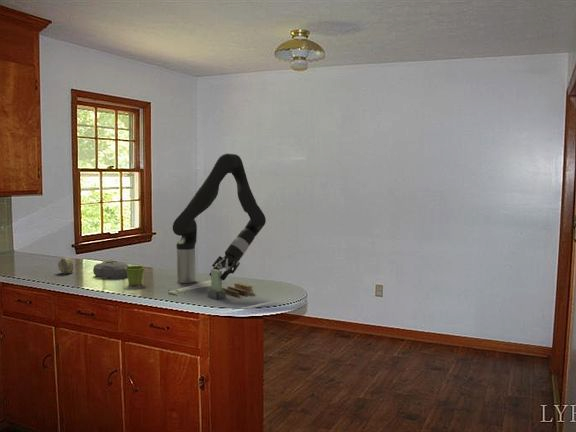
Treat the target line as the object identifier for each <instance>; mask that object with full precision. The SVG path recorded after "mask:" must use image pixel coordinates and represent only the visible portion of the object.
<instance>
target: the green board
mask: <svg viewBox="0 0 576 432" xmlns="http://www.w3.org/2000/svg"><path fill="white" fill-rule="evenodd" d="M210 273H211V276H210V278H211V279H210V280H211V286H210V287H211V288H210V289H211V290H212V291H215V292H222V288H223V284H222V281H223V280H222V279H221V278H220V277H221V275H222V274H223V271H222V270H221V269H220V270H216V269H210Z"/></svg>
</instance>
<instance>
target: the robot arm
mask: <svg viewBox="0 0 576 432" xmlns="http://www.w3.org/2000/svg"><path fill="white" fill-rule="evenodd" d="M228 174H232V176H233V178H234V181H235V182H236V190H237V198H238V201H239V204H240V206H241V208H242V209H243V211H244V212H245V214H246V213H247V215H248V218H249V220H248V222H247V224H246V225H245V226H244V228H243V229H242V230H241V231H240V232H239V233H238V235H237V236H236V237H235V238H234V239H233V241H232V242H231V243H230V244H229V246H228V247H227V248H226V250H225V252H224V256H223V257H222V256H221V255H219V256H218V257H217V259H215V261H214V262H213V263H212V265H211V267H212V268H213V269H216V270H220V271H221V270H223V269H225V271H223V272H222V275H221V277H220V278H221V279H222V281H225V280H226V279H227V277H228V276H229V275H231V274H232V275H233V274H234V273H235V272H236V271H237V269H238V267H239V266H240V265H241V263H240V261H241V259H242V257H243V256H244V255H245V253H246V252H247V251H248V249H249V247H250V246H251V245H252V243H253V241H254V239H255V237H257V235H258V234H259V233H260V232H261V230H262V229H263V227H264V226H265V225H266V222H267V221H266V220H267V219H266V216H265V214H264V212H263V211H262V209H261V207H260V206H259V205H258V203H257V201H256V198H255V196H254V194H253V192H252V189H251V187H250V183H249V181H248V177H247V174H246V170H245V166H244V163H243V160H242V158H241V156H239V155H238V154H235V153H223V154H222V155H220V156H219V157H218V159H217V160H216V162H215V163H214V165H213V167H212V170H211V171H210V173H209V174H208V176H207V177H206V179H205V180H204V181H203V183H202V184H201V186H200V187H199V188H198V190H197V191H196V192H195V194H194V196H192V198H191V200H190V201H189V202H188V204H187V205H186V207H185V208H184V209H183V210H182V212H181V213H180V214H179V215H178V216H177V217H176V219H175V220H174V221H173V223H172V231H173V233H174V234H175V235H177V236H179V237H181V238H180V240H179V241H177V242H176V281H177V283H179V284H190V283H195V282H196V280H197V279H196V244H197V234H198V232H197V231H198V228H197V227H198V225H197V222H196V218H197V217H198V216H199V215H201V214H203V212H206V210H208V208H209V207H211V205H212V204H213V203H214V202H215V200H216V199H217V197H218V195H219V191H220V185H221V182H222V181H223V179H225V177H226V176H227V175H228ZM209 276H210V277H211V272H210V273H209Z"/></svg>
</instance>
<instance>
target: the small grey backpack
mask: <svg viewBox="0 0 576 432" xmlns="http://www.w3.org/2000/svg"><path fill="white" fill-rule="evenodd" d="M126 267H129V265H128V263H126V262H125V263H124V262H120V261H116V260H109V261H106V260H104V262H99V263H96V264H95V265H94V266H93V269H92V270H93V274H94V276H96V277H98V278H101V277H102V279H122V278H123V279H124V278H128V276H127V272H126V269H125V268H126Z"/></svg>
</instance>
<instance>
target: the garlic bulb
mask: <svg viewBox="0 0 576 432" xmlns="http://www.w3.org/2000/svg"><path fill="white" fill-rule="evenodd" d="M57 267H58V270H59V271H60V272H61V273H64V274H63V275H67V274H68V275H69V274H72V273H74V267H75V266H74V263H73V261H72V260H71V258H69V257H64V256H61V258H60V260H59V261H58V263H57Z"/></svg>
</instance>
